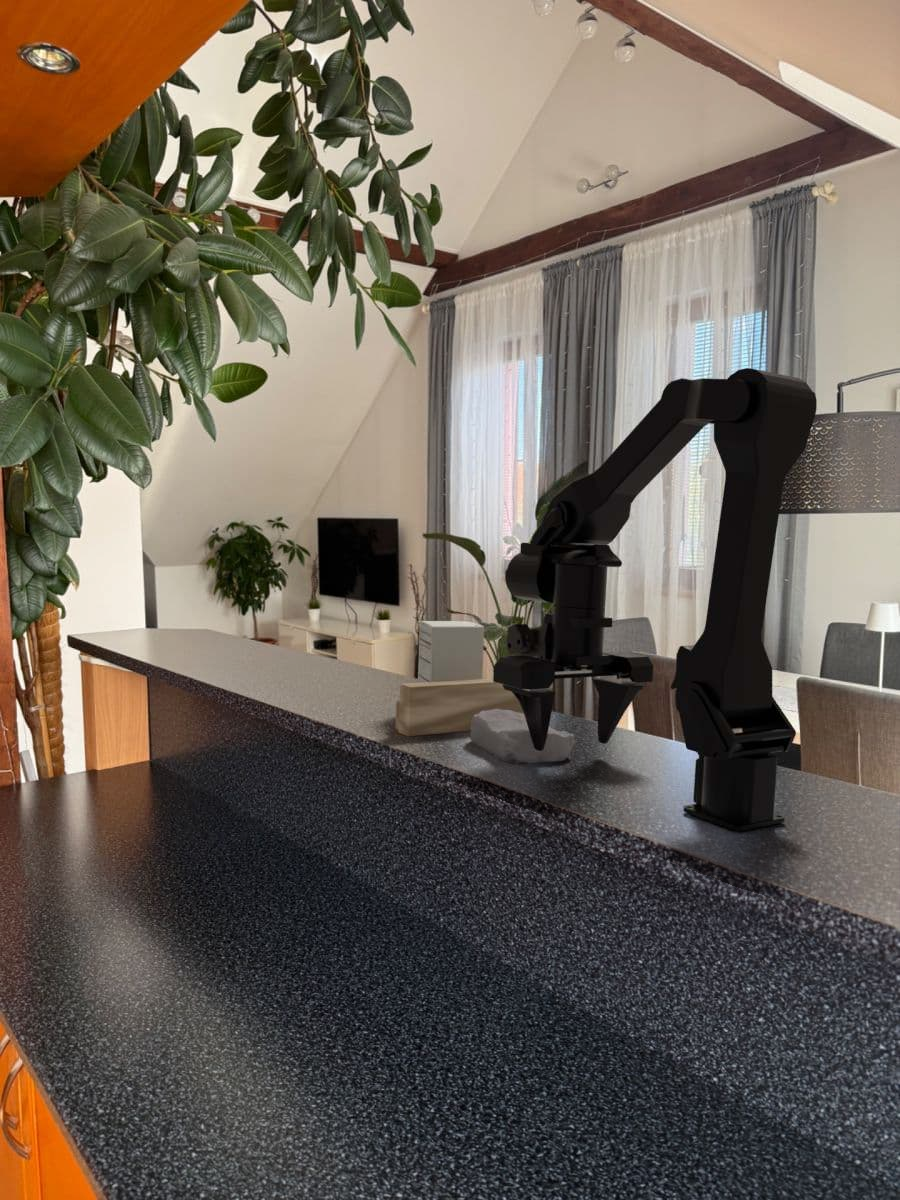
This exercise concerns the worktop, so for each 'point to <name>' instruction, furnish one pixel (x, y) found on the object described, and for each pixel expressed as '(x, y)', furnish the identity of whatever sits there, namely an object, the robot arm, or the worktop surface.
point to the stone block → (516, 738)
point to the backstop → (449, 705)
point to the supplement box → (450, 651)
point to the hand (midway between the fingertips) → (571, 746)
